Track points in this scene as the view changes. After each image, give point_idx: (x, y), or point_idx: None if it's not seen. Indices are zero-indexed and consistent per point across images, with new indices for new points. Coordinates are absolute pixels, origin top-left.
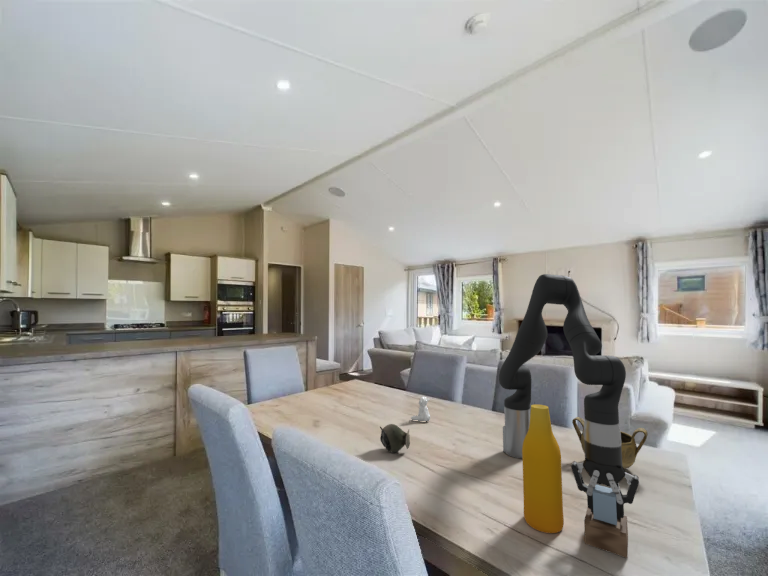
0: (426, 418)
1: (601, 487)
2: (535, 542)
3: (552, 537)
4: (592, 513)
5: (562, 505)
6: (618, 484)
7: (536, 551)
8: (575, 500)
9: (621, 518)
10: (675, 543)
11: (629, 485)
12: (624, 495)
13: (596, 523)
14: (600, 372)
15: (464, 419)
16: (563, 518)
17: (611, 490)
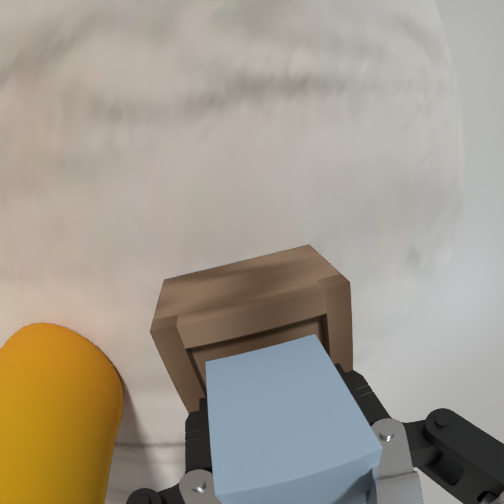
0: None
1: (278, 495)
2: (122, 450)
3: (128, 417)
4: (191, 353)
5: (98, 431)
6: (417, 498)
7: (146, 468)
8: (41, 96)
9: (329, 326)
10: (428, 142)
11: (481, 473)
12: (418, 456)
13: None
14: None
15: None
16: (109, 388)
17: (348, 477)
